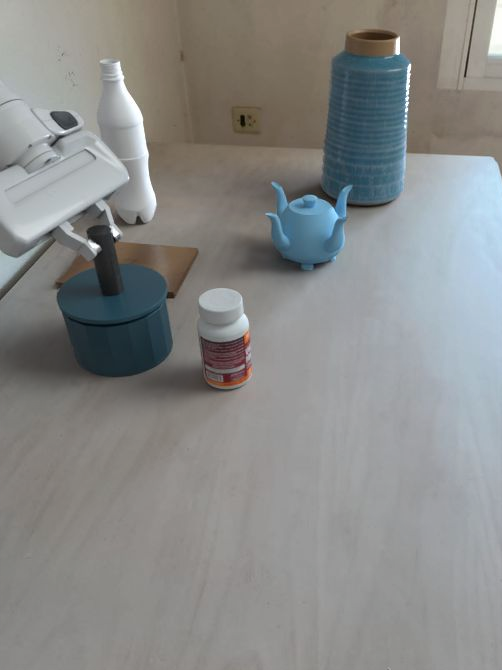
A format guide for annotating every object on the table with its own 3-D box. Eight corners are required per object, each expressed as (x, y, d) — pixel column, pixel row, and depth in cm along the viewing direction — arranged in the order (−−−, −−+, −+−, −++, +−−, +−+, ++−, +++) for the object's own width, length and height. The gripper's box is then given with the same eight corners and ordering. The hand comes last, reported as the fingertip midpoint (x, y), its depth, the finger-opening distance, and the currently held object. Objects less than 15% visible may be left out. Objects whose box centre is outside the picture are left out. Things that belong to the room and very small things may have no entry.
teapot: (345, 279, 99) (348, 218, 92) (261, 273, 99) (259, 212, 92) (349, 241, 108) (352, 183, 101) (273, 236, 109) (271, 178, 102)
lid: (40, 323, 75) (16, 253, 69) (83, 268, 85) (66, 201, 78) (149, 333, 74) (135, 262, 68) (181, 275, 84) (171, 209, 77)
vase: (326, 172, 130) (330, 21, 112) (405, 178, 129) (422, 26, 111) (315, 205, 118) (318, 42, 100) (401, 212, 117) (420, 48, 99)
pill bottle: (259, 384, 79) (255, 307, 71) (212, 396, 77) (202, 318, 69) (242, 357, 83) (237, 281, 76) (197, 368, 81) (187, 291, 74)
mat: (58, 288, 95) (56, 282, 94) (93, 245, 105) (92, 239, 104) (174, 298, 93) (173, 292, 93) (198, 253, 104) (198, 248, 103)
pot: (60, 371, 80) (44, 322, 75) (97, 317, 89) (85, 270, 84) (156, 380, 79) (146, 331, 74) (183, 325, 88) (176, 277, 83)
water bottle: (154, 227, 110) (127, 68, 93) (113, 226, 110) (78, 66, 93) (162, 210, 115) (138, 56, 98) (123, 209, 115) (92, 54, 98)
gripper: (-49, 165, 61) (60, 276, 65) (84, 106, 75) (166, 201, 79) (-66, 201, 65) (37, 304, 69) (63, 139, 79) (142, 227, 83)
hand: (107, 248), depth 74 cm, fingers closed on lid, 3 cm apart
